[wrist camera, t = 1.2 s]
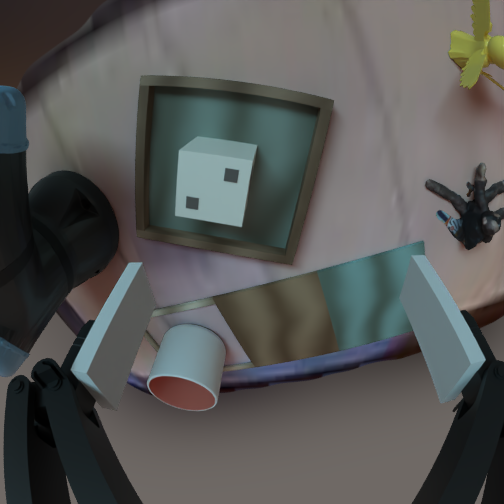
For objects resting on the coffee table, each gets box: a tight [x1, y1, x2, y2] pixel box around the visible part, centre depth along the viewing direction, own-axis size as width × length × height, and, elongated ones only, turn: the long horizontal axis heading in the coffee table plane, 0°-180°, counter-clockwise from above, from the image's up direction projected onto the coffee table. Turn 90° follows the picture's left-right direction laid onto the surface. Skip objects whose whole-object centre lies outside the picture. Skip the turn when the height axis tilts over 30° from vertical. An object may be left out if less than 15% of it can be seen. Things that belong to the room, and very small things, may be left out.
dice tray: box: [135, 75, 334, 265], centre depth 29 cm, size 18×18×2 cm
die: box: [175, 136, 257, 227], centre depth 27 cm, size 6×6×6 cm
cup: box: [147, 324, 226, 411], centre depth 41 cm, size 10×10×10 cm
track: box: [144, 241, 425, 372], centre depth 41 cm, size 43×16×1 cm, turn 111°
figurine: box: [448, 0, 504, 90], centre depth 15 cm, size 12×12×9 cm
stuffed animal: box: [426, 163, 504, 250], centre depth 28 cm, size 12×10×12 cm
